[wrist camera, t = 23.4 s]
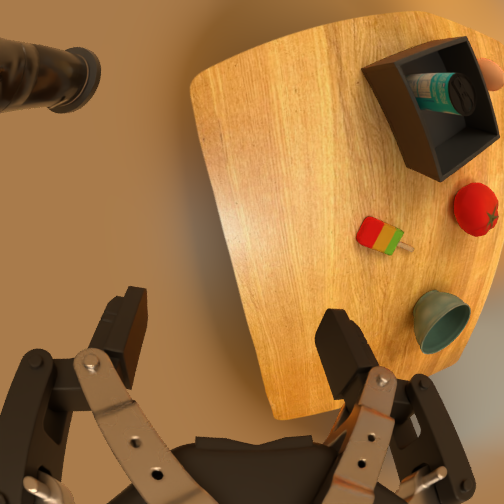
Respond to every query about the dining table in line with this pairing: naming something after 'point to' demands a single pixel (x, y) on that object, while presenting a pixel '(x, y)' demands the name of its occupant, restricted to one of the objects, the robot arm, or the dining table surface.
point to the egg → (491, 74)
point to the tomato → (476, 209)
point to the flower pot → (439, 320)
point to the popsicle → (380, 236)
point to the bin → (432, 122)
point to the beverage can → (443, 92)
